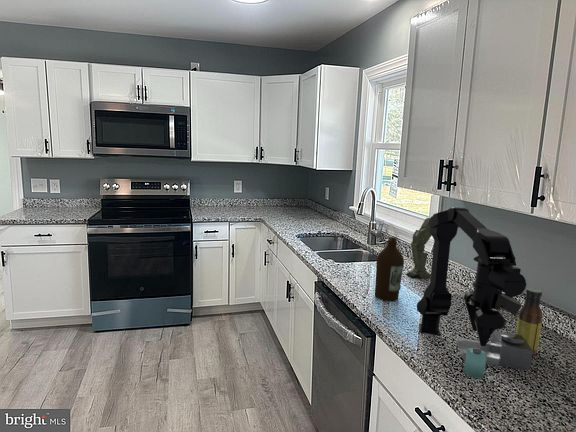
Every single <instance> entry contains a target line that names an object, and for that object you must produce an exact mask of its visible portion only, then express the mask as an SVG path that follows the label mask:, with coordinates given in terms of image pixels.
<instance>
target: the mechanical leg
mask: <svg viewBox="0 0 576 432" xmlns="http://www.w3.org/2000/svg"><path fill="white" fill-rule="evenodd" d="M430 218H431V217H426V218H425V219H424V220H423V222H422V224H421V225H420V228H419V229H416V230H415V231H414V233H413V234H412V241H411V242H410V248H411V253H412V259H413V262H412V263H413V265H414V267H413V269H412V270H411V271H408V272H406V274H405V275H406V276H407V277H409V278H411V279H428V278H430V279H431V273H429V271H427V268H426V265H427V261H428V255H429V254H428V253H427V252H425V248H426V244H427V243H428V242H429V240H430V238H431V237H432V235H431V233H430V225H429V220H430Z"/></svg>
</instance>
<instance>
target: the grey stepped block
mask: <svg viewBox="0 0 576 432" xmlns="http://www.w3.org/2000/svg"><path fill="white" fill-rule="evenodd" d="M456 345H457V348H458V350H459V352H460V356H461V358H462V360H463V361H465V358H466V351H467V349H468V348H474V347H477V348H480V349H481V350H482V351H484V352H485V353H486V354H487V358H486V364H489V365H493V366H495V365H496V366H500V367H507V368H512V369H519V370H523V371H524V370H525V371H530V370H531V365H532V359H533V355H532V354H533V350H532V348H531V347H530V346H529V345H528V343H527V342H526V341H525V339H524V338H523V337H522V335H518V334H516V333H513V332H508V331H507V332H505V331H497V330H495V331H494V332H493V333H492V335H491V336H490V342H489V341H488V342H487V344H486V346H481V345H480V341H479V340H473V339H467V338H462V337H461V338H460V337H457V341H456Z"/></svg>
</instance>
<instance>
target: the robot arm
mask: <svg viewBox="0 0 576 432" xmlns="http://www.w3.org/2000/svg"><path fill="white" fill-rule="evenodd" d="M429 218H430V220H429V225H430V233H431V235H432V236H431V237H432V239H433V250H432V251H433V252H432V259H431V270H430V274H431V277H430V281H429V284H428V285H427V287H426V288H425V289H424V290H423V296H422V298H421V299H420V300H419V301H418V302H417V303H416V311H417V312H418V313H420V314H421V315H422V316H421V323H419V324H418V328H419V332H420V333H421V334H427V335H432V336H433V335H435V336H442V332H441V330H440V325H441V319H442V318H441V317H442V316H444V317H447V316H448V314H449V312H450V309H451V307H452V297H453V296H452V293H451V292H450V291H449V290H448V287H447V280H448V271H449V260H450V251H451V242H452V241H453V240H454V239H455V237H456V236H457V234H458V230H459V229H460V230H462V231H463V232H464V233H465V234H466V236H468V237H469V238H470V239H471V241H472V247H473V249H474V250H475V252H476V253H477V256H475V257H474V258H473V261H474V262H477V265H476V272H475V273H476V274H475V279H474V281H472V287H473V290H467V291H465V292H464V298H463V299H464V305H465V307H466V311H467V314H468V317H469V321H470V324H471V329H472V331H473V332H476V333H477V336H478V341H480V345H481V346H486V344H487V342H488V343H489V341H490V339H491V337H492V333H493V332H494V331H497V330H502V329H505V328H506V323H507V320H506V319H505V317H504V316H503V314H501V312H500V311H501V310H500V309H502V310H504V311H506V312H508V313H511V315H513V316H515V317H516V316H517V314H519V312H520V311H521V309H522V307H523V304H522V303H521V302H520V301H519V300H517V299H516V298H515V297H517V296H520V295H521V294H523V292H524V291H526V289H527V282H526V281H527V280H526V278H525V277H524V275H523V274H522V273H521V268H520V267H517V263H516V262H517V261H516V259H517V258H516V256H515V255H514V253H513V252H514V251H513V248H512V245H511V243H510V242H511V241H510V240H509V238H508V237H507V236H505V235H503V234H502V233H500V232H498V231H494V230H491V229H489V228H487V226H485V225H484V224H483V223H482V222H480V220H478V219H477V218H476V216H474V215H473V214H472V213H471V212H470V211H469V209H468V208H466V207H454V206H453V207H450V208H448V209H446V210H443V211H439V212H436V213H433V214H432V216H430V217H429Z"/></svg>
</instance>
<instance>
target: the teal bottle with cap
mask: <svg viewBox="0 0 576 432" xmlns="http://www.w3.org/2000/svg"><path fill="white" fill-rule="evenodd" d="M486 358H487V354H486V353H485V352H484V351H482V350H481V349H480V348H477V347H474V348H468V349H467V351H466V358H465V360H464V367H463V372H464V374H465V375H467V376H468V377H471V378H473V379H474V378H475V379H482V378H484V377H485V372H486V371H485V370H486V364H487V363H486Z"/></svg>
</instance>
